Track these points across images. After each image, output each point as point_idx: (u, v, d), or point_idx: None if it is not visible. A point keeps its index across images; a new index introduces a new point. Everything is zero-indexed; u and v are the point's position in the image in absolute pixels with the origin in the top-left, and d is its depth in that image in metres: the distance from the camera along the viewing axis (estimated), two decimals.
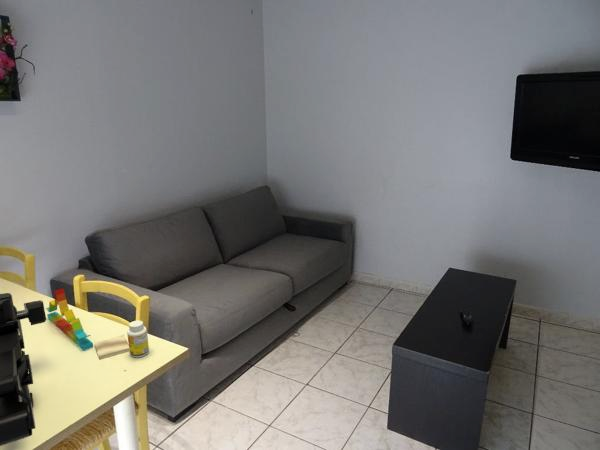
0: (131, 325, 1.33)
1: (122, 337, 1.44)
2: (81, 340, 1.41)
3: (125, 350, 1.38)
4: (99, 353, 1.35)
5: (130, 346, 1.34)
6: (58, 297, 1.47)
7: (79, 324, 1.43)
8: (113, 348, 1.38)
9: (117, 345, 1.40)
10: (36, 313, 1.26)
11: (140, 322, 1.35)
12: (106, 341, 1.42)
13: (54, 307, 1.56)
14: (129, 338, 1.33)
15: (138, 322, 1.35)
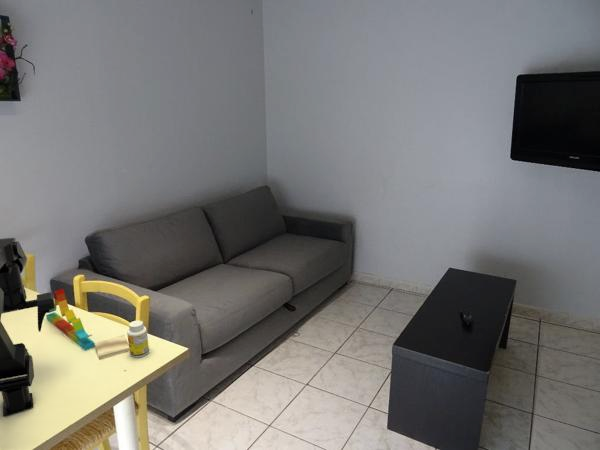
0: (131, 325, 1.33)
1: (122, 337, 1.44)
2: (82, 340, 1.41)
3: (125, 350, 1.38)
4: (99, 353, 1.35)
5: (130, 346, 1.34)
6: (58, 297, 1.46)
7: (80, 324, 1.43)
8: (113, 348, 1.38)
9: (117, 345, 1.40)
10: (44, 295, 1.24)
11: (140, 322, 1.35)
12: (106, 341, 1.42)
13: (53, 308, 1.56)
14: (129, 338, 1.33)
15: (138, 322, 1.35)
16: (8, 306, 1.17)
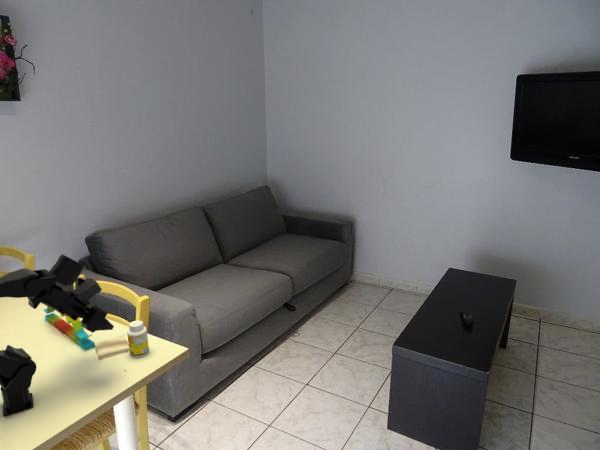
0: (131, 325, 1.33)
1: (122, 337, 1.44)
2: (82, 340, 1.41)
3: (125, 350, 1.38)
4: (99, 353, 1.35)
5: (130, 346, 1.34)
6: None
7: (80, 324, 1.43)
8: (113, 348, 1.38)
9: (117, 345, 1.40)
10: (90, 314, 1.17)
11: (140, 322, 1.35)
12: (106, 341, 1.42)
13: None
14: (129, 338, 1.33)
15: (138, 322, 1.35)
16: None
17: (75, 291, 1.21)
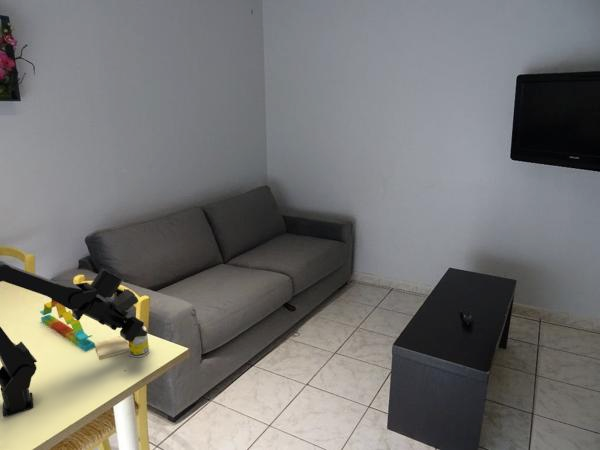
0: None
1: (122, 337, 1.44)
2: (82, 341, 1.41)
3: (125, 350, 1.38)
4: (99, 353, 1.35)
5: (130, 346, 1.34)
6: None
7: (79, 325, 1.42)
8: (113, 348, 1.38)
9: (117, 345, 1.40)
10: (128, 325, 1.25)
11: None
12: (106, 341, 1.42)
13: (48, 310, 1.54)
14: None
15: None
16: None
17: (114, 302, 1.29)
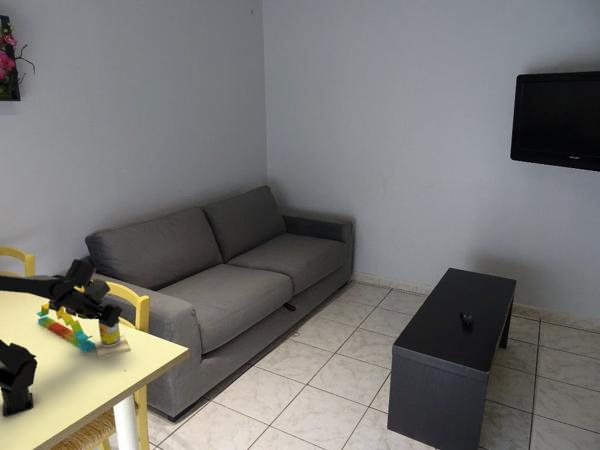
0: None
1: (122, 337, 1.44)
2: (82, 342, 1.40)
3: (125, 350, 1.38)
4: (99, 353, 1.35)
5: (103, 336, 1.36)
6: None
7: (79, 326, 1.42)
8: (113, 348, 1.38)
9: (117, 345, 1.40)
10: (107, 311, 1.27)
11: None
12: None
13: (45, 311, 1.53)
14: (102, 328, 1.35)
15: None
16: (81, 315, 1.29)
17: (87, 292, 1.30)
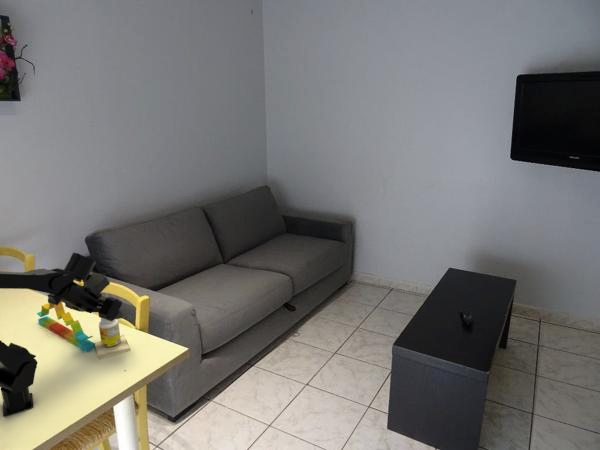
0: None
1: (122, 337, 1.44)
2: (82, 342, 1.40)
3: (125, 350, 1.38)
4: (99, 353, 1.35)
5: (103, 339, 1.36)
6: None
7: (79, 326, 1.42)
8: None
9: None
10: (107, 305, 1.27)
11: None
12: None
13: (46, 311, 1.53)
14: (102, 331, 1.35)
15: None
16: (80, 309, 1.29)
17: (86, 286, 1.29)
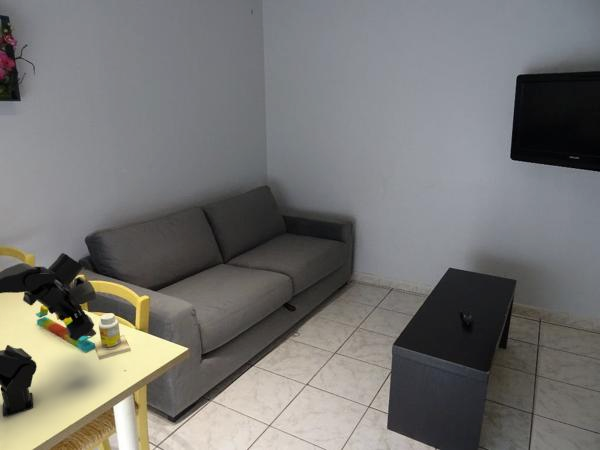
0: (103, 318, 1.35)
1: (122, 337, 1.44)
2: (82, 342, 1.40)
3: (125, 350, 1.38)
4: (99, 353, 1.35)
5: (103, 339, 1.36)
6: None
7: None
8: None
9: None
10: (77, 323, 1.17)
11: (111, 314, 1.38)
12: None
13: (45, 312, 1.52)
14: (102, 331, 1.35)
15: (109, 314, 1.37)
16: None
17: (71, 292, 1.20)
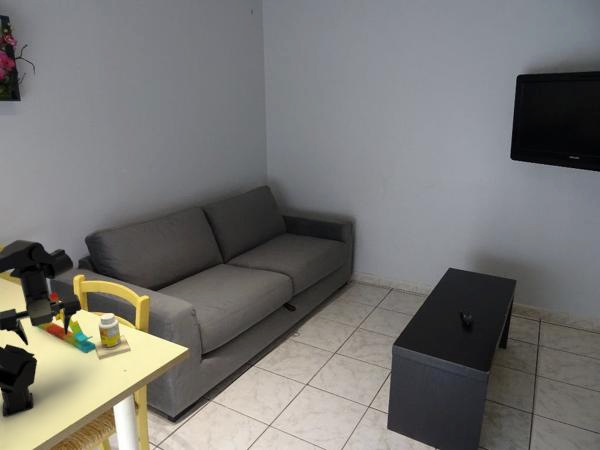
0: (103, 318, 1.35)
1: (122, 337, 1.44)
2: (82, 342, 1.40)
3: (125, 350, 1.38)
4: (99, 353, 1.35)
5: (103, 339, 1.36)
6: (52, 301, 1.43)
7: (78, 327, 1.41)
8: None
9: None
10: (6, 314, 1.13)
11: (111, 314, 1.38)
12: None
13: None
14: (102, 331, 1.35)
15: (109, 314, 1.37)
16: None
17: (40, 300, 1.14)
